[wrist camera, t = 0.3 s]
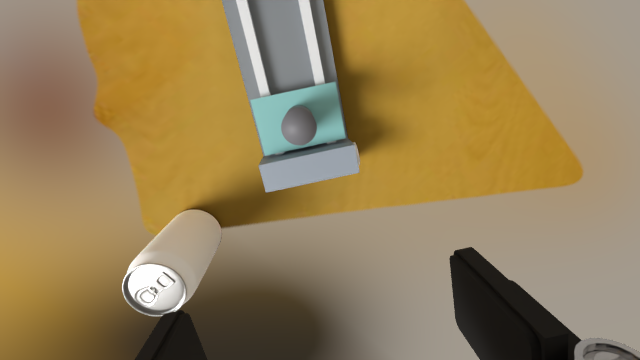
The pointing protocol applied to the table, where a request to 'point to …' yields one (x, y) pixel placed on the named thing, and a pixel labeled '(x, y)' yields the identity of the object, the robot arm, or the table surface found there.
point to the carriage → (299, 118)
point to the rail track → (289, 79)
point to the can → (172, 264)
